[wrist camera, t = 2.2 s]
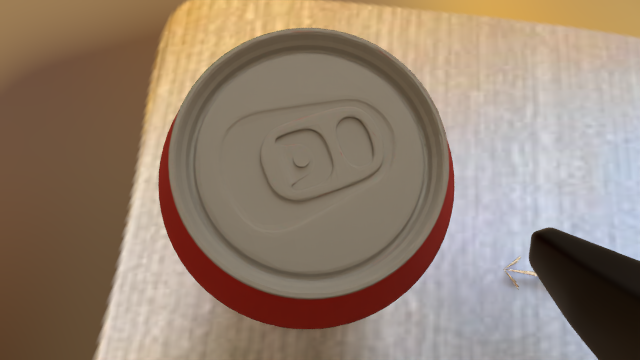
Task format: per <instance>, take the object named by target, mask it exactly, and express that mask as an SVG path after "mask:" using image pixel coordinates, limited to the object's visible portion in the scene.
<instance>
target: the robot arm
mask: <svg viewBox="0 0 640 360" xmlns="http://www.w3.org/2000/svg"><path fill="white" fill-rule="evenodd" d="M529 261H530V264H531V267H532V268H533V270H534V271H535V273H536V274H537V276H538V277H539V279H540V280H541V282H542V283H543V285H544V286H545V288H546V289H547V291H548V292H549V294H550V295H551V297H552V298H553V300H554V302H555V303H556V305H557V306H558V308H559V309H560V311H561V312H562V314H563V315H564V316H565V318H566V319H567V321H568V322H569V324H570V325H571V326H572V327H573V329H574V330H575V331H576V333H577V334H578V335H579V336H580V337H581V339H582V340H583V341H584V342H585V344H586V345H587V346H588V347H589V348H590V350H591V351H592V352H593V353H594V355H595V356H596V357H597V358H598V359H599V360H640V261H638V260H635V259H633V258H630V257H628V256H625V255H622V254H620V253H617V252H615V251H612V250H609V249H607V248H604V247H602V246H599V245H596V244H594V243H591V242H589V241H586V240H583V239H581V238H578V237H576V236H573V235H570V234H568V233H565V232H563V231H560V230H557V229H555V228H545V229H542V230H539V231H536V232H534V233H533V234H532V237H531V244H530V252H529Z"/></svg>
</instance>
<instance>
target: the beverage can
mask: <svg viewBox="0 0 640 360" xmlns="http://www.w3.org/2000/svg"><path fill="white" fill-rule="evenodd" d="M159 200H160V207H161V213H162V217H163V221H164V225H165V228H166V231H167V234H168V236H169V239H170V241H171V243H172V245H173V248H174V249H175V251H176V253H177V255H178V257H179V258H180V260H181V262H182V263H183V264H184V266H185V267H186V269H187V270H188V272H189V273H190V274H191V275H192V276H193V277H194V279H195V280H196V281H197V282H198V283H199V284H200V285H201V286H202V287H203V288H204V289H205V290H206V291H207V292H208V293H210V294H211V295H212V296H213V297H214V298H216V299H217V300H218V301H220V302H221V303H223V304H224V305H226V306H227V307H229V308H231V309H232V310H234V311H236V312H238V313H240V314H242V315H244V316H246V317H249V318H251V319H253V320H256V321H259V322H263V323H266V324H270V325H274V326H278V327H284V328H292V329H323V328H330V327H336V326H340V325H345V324H349V323H352V322H355V321H358V320H361V319H363V318H365V317H368V316H370V315H372V314H374V313H376V312H378V311H380V310H382V309H383V308H385V307H387V306H388V305H390V304H391V303H393V302H394V301H396V300H397V299H398V298H399V297H401V296H402V295H403V294H404V293H406V292H407V291H408V290H409V289H410V288H411V287H412V286H413V285H414V284H415V283H416V282H417V281H418V280H419V278H420V277H421V276H422V275H423V274H424V272H425V271H426V270H427V268H428V267H429V265H430V264H431V263H432V261H433V259H434V258H435V256H436V254H437V252H438V251H439V249H440V246H441V244H442V242H443V240H444V237H445V234H446V232H447V229H448V226H449V222H450V218H451V214H452V208H453V201H454V170H453V162H452V157H451V152H450V148H449V144H448V141H447V138H446V133H445V130H444V127H443V124H442V121H441V118H440V115H439V112H438V110H437V108H436V106H435V104H434V103H433V101H432V99H431V97H430V95H429V94H428V92H427V90H426V89H425V88H424V86H423V85H422V84H421V82H420V81H419V80H418V79H417V78H416V76H415V75H414V74H413V73H412V72H411V71H410V70H409V69H408V68H407V67H406V66H405V65H404V64H403V63H401V62H400V61H399V60H398V59H397V58H396V57H394V56H393V55H391V54H390V53H388V52H387V51H385V50H384V49H382V48H380V47H379V46H377V45H375V44H373V43H371V42H369V41H367V40H364V39H362V38H359V37H357V36H354V35H351V34H347V33H344V32H339V31H335V30H328V29H320V28H296V29H286V30H281V31H276V32H272V33H268V34H264V35H262V36H259V37H256V38H254V39H251V40H249V41H246V42H244V43H242V44H241V45H239V46H237V47H235V48H234V49H232V50H230V51H229V52H227V53H226V54H224V55H223V56H222V57H220V58H219V59H218V60H217V61H216V62H214V63H213V64H212V65H211V66H210V67H209V68H208V69H207V70H206V71H205V72H204V73H203V74H202V75H201V77H200V78H199V79H198V80H197V81H196V83H195V84H194V85H193V86H192V88H191V90H190V91H189V93H188V94H187V96H186V98H185V100H184V102H183V103H182V105H181V107H180V110H179V111H178V113H177V115H176V117H175V119H174V120H173V122H172V125H171V127H170V129H169V132H168V134H167V137H166V141H165V144H164V147H163V152H162V156H161V161H160V169H159Z"/></svg>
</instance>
